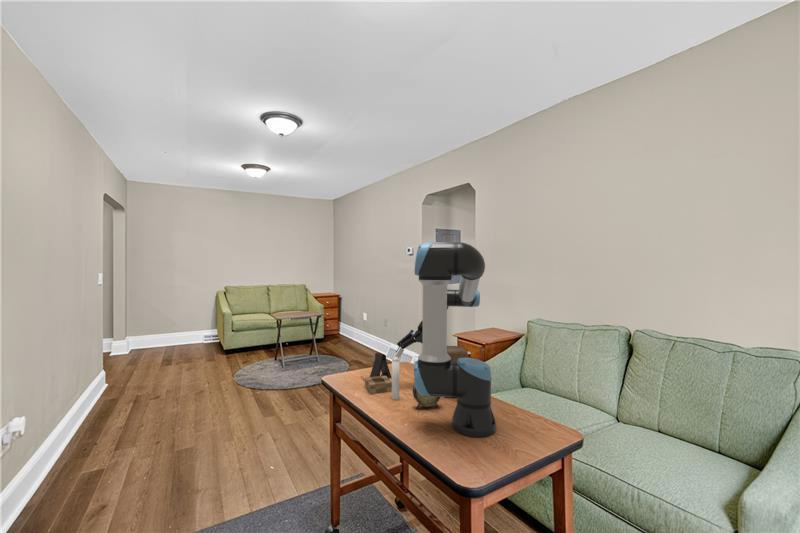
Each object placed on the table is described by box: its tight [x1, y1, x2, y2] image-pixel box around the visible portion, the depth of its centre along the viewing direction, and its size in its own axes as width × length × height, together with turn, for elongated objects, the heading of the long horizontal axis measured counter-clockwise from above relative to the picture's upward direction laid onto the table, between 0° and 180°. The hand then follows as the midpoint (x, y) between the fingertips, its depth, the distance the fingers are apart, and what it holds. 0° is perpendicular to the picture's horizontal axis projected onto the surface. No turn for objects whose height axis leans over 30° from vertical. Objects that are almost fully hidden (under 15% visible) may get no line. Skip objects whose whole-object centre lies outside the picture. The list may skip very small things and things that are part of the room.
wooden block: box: [447, 345, 469, 363], centre depth 157 cm, size 10×10×20 cm
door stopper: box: [369, 352, 392, 379], centre depth 178 cm, size 9×6×12 cm, turn 124°
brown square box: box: [364, 375, 392, 395], centre depth 163 cm, size 10×10×4 cm
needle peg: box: [391, 356, 400, 401], centre depth 152 cm, size 3×3×18 cm
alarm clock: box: [412, 382, 441, 410], centre depth 143 cm, size 11×5×16 cm, turn 102°
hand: (405, 363), depth 157 cm, fingers open, 13 cm apart
